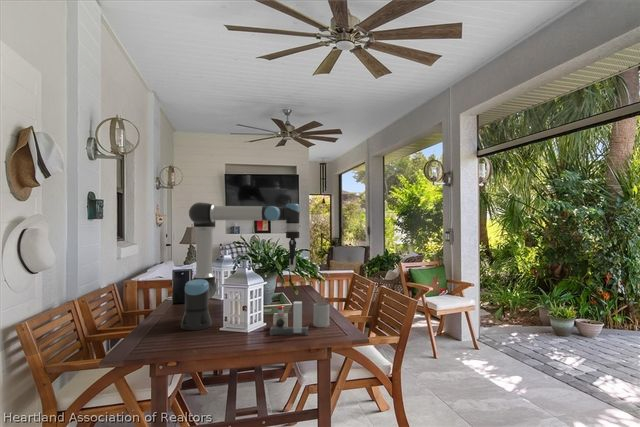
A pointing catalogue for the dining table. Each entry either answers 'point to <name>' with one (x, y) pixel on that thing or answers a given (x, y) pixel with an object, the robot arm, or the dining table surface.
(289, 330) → the rail
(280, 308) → the gauge plunger
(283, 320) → the gauge cabinet
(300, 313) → the block
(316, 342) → the dining table surface
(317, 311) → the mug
